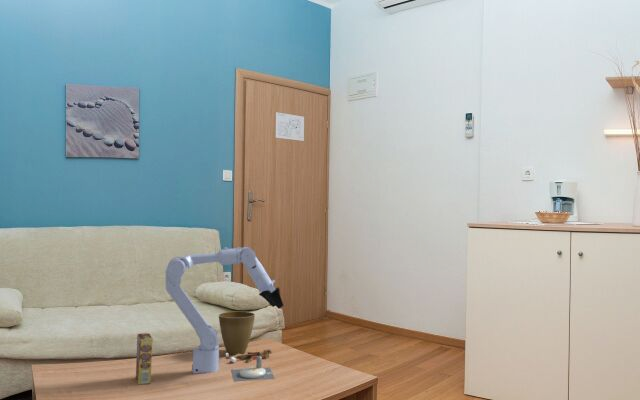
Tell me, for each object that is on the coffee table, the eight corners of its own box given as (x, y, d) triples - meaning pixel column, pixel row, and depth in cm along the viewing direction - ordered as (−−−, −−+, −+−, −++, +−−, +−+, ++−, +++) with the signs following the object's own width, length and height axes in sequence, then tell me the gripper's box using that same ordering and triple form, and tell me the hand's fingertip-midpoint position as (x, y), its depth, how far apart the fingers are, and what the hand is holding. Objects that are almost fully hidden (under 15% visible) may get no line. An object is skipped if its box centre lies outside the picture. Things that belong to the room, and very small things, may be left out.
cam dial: (256, 379, 172) (256, 364, 172) (234, 375, 176) (235, 360, 176) (270, 372, 180) (271, 357, 181) (249, 368, 184) (250, 354, 184)
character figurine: (224, 361, 198) (224, 351, 199) (268, 356, 206) (268, 346, 206) (230, 368, 190) (230, 357, 190) (276, 362, 197) (276, 352, 197)
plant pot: (259, 354, 206) (260, 315, 207) (225, 359, 199) (225, 319, 199) (246, 346, 219) (246, 309, 220) (213, 350, 212) (213, 312, 212)
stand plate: (234, 384, 170) (234, 381, 170) (231, 372, 183) (231, 369, 183) (275, 381, 174) (275, 378, 174) (269, 370, 186) (269, 367, 186)
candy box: (151, 383, 171) (152, 338, 171) (138, 385, 169) (139, 339, 169) (148, 375, 179) (149, 332, 179) (135, 377, 177) (136, 333, 177)
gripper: (273, 270, 183) (292, 301, 184) (262, 269, 196) (280, 298, 198) (257, 281, 180) (277, 312, 182) (247, 279, 194) (266, 309, 195)
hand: (278, 306), depth 190 cm, fingers open, 7 cm apart
